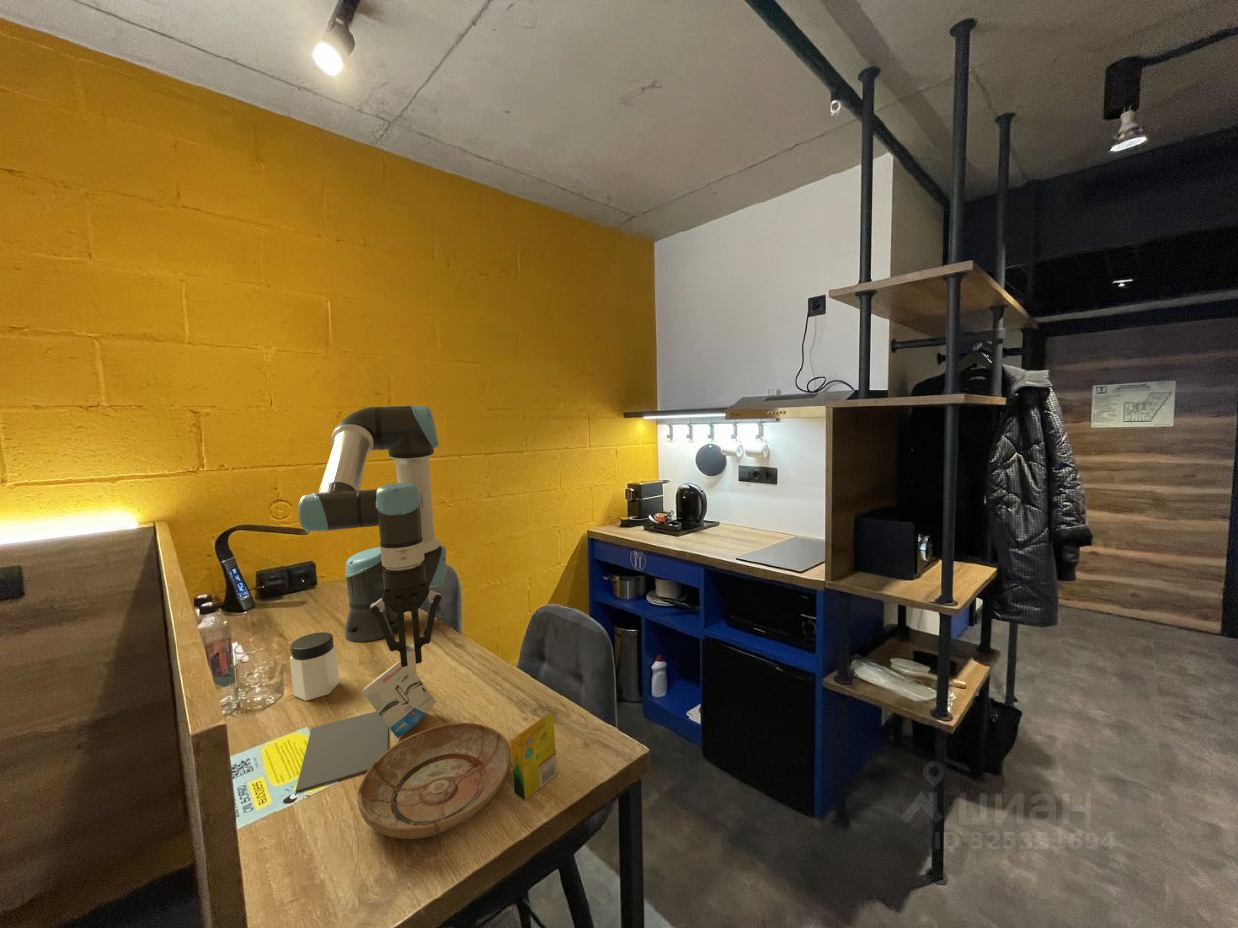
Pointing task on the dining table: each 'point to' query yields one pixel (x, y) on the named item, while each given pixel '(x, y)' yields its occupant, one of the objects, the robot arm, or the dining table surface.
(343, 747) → the mat
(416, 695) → the ink box
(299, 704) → the dining table surface
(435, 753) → the ceramic bowl
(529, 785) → the crayon box
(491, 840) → the dining table surface
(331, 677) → the jar
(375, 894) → the dining table surface
